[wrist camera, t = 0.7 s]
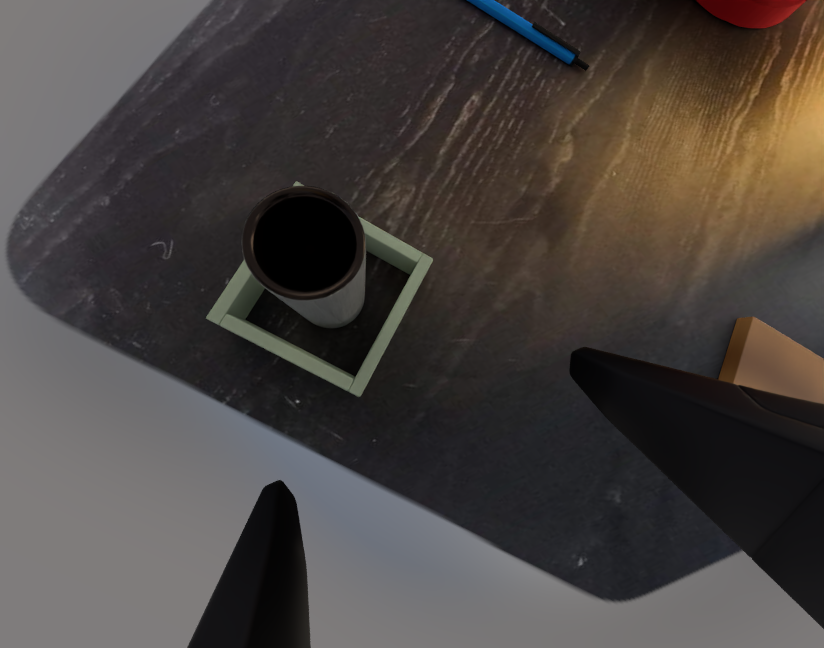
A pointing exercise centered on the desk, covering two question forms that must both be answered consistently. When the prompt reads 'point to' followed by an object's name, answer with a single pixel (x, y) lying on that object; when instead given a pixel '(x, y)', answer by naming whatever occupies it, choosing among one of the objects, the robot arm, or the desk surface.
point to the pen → (532, 32)
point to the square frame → (232, 317)
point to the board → (772, 362)
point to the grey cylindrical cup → (308, 253)
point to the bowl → (751, 11)
